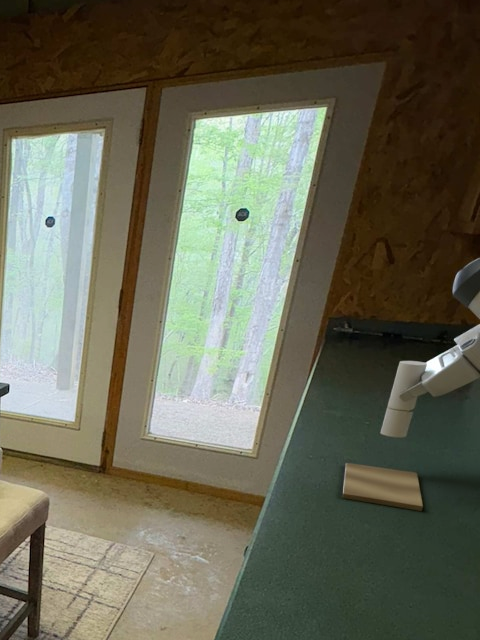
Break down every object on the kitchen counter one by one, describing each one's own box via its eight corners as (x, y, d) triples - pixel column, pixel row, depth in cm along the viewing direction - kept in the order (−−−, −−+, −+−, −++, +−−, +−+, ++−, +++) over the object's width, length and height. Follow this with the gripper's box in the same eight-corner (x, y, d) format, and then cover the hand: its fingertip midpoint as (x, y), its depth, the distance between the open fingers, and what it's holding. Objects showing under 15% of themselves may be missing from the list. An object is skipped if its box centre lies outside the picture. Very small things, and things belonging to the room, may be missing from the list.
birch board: (345, 467, 136) (346, 462, 136) (415, 477, 129) (417, 472, 129) (341, 498, 121) (343, 493, 121) (421, 511, 114) (423, 506, 114)
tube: (387, 437, 129) (407, 364, 123) (376, 431, 133) (394, 360, 127) (411, 437, 128) (432, 364, 122) (398, 431, 132) (418, 360, 126)
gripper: (464, 331, 126) (390, 374, 136) (472, 346, 111) (389, 393, 121) (487, 355, 125) (411, 396, 135) (498, 373, 110) (412, 419, 120)
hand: (401, 395), depth 127 cm, fingers closed on tube, 4 cm apart
